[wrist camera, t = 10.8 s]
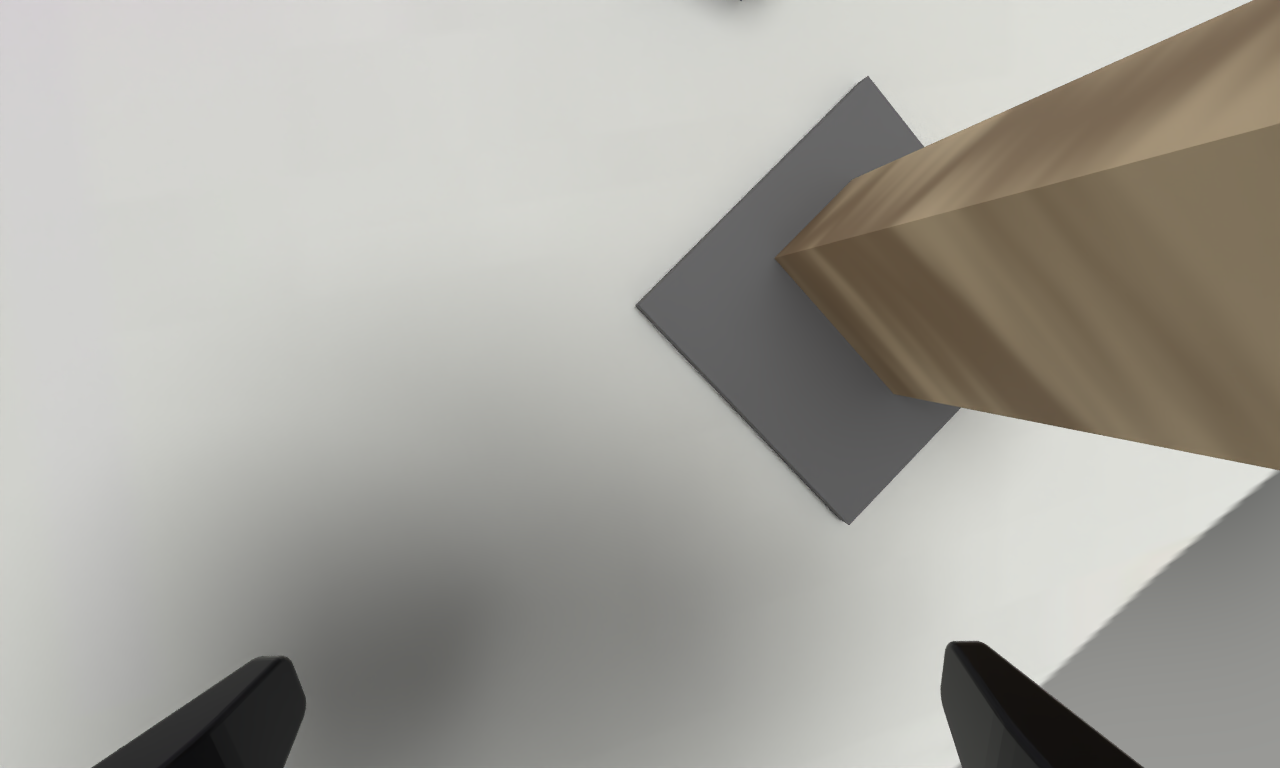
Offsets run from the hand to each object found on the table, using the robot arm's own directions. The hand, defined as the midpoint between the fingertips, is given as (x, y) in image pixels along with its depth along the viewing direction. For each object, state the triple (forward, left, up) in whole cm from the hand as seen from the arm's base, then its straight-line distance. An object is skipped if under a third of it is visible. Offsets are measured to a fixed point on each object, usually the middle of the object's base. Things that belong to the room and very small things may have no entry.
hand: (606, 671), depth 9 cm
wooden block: (+11, +1, -11) cm, 16 cm away
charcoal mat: (+11, +1, -11) cm, 15 cm away
